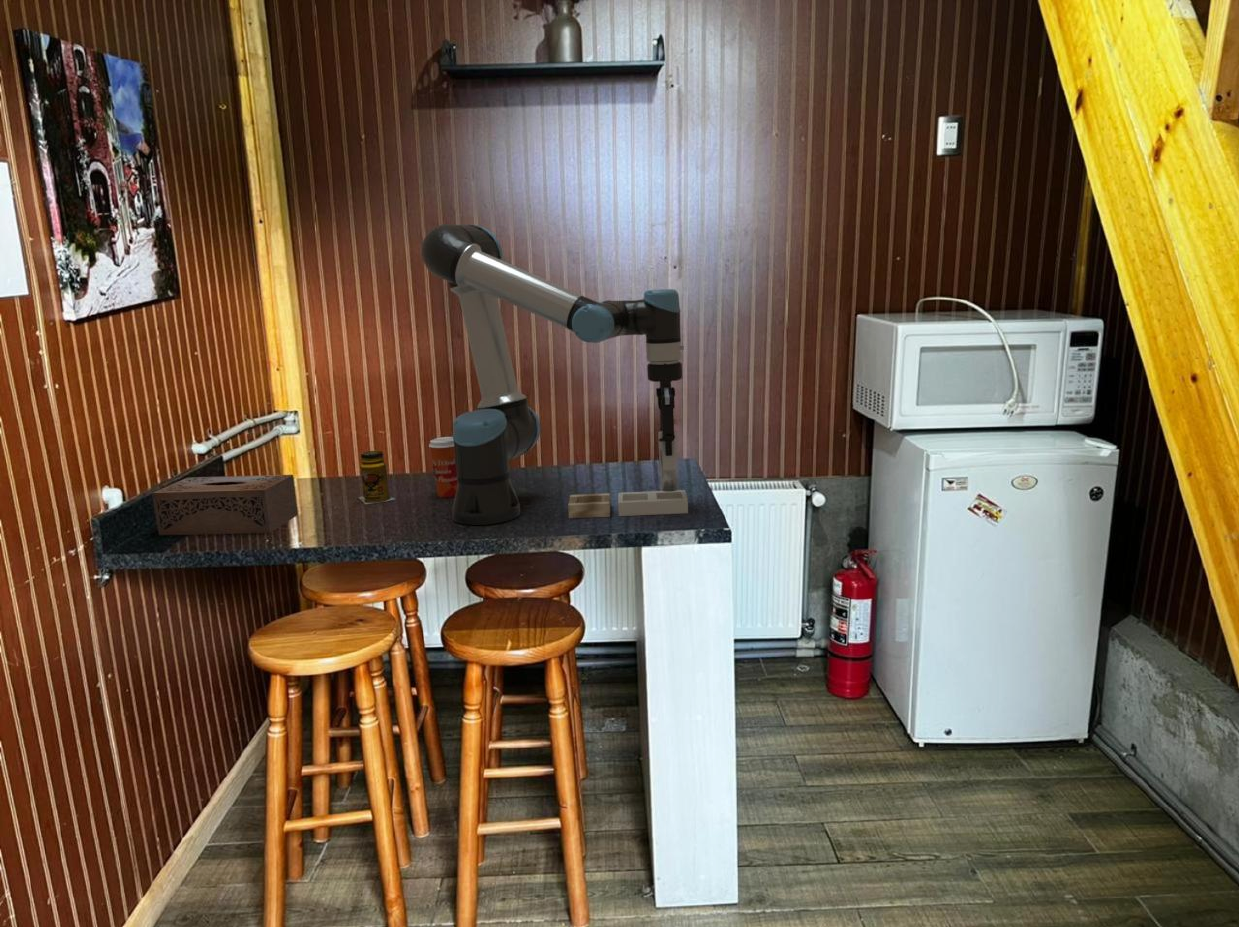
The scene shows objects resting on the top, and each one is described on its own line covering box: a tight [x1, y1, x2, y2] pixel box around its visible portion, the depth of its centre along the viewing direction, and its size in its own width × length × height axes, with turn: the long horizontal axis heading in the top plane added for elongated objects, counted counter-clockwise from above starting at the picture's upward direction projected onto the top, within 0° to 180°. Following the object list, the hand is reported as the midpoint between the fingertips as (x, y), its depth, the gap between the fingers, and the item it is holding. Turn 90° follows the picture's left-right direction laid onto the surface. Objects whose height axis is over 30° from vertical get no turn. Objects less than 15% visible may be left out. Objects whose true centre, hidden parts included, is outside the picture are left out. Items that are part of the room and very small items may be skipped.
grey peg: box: [657, 430, 680, 492], centre depth 200 cm, size 4×4×13 cm
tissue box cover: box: [151, 474, 299, 536], centre depth 206 cm, size 26×14×10 cm, turn 86°
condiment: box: [358, 450, 396, 505], centre depth 223 cm, size 7×8×12 cm
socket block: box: [567, 492, 611, 519], centre depth 203 cm, size 9×9×3 cm
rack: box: [617, 489, 689, 517], centre depth 203 cm, size 15×9×3 cm, turn 90°
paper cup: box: [428, 436, 458, 498], centre depth 223 cm, size 8×8×14 cm
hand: (668, 467), depth 201 cm, fingers closed on grey peg, 4 cm apart
